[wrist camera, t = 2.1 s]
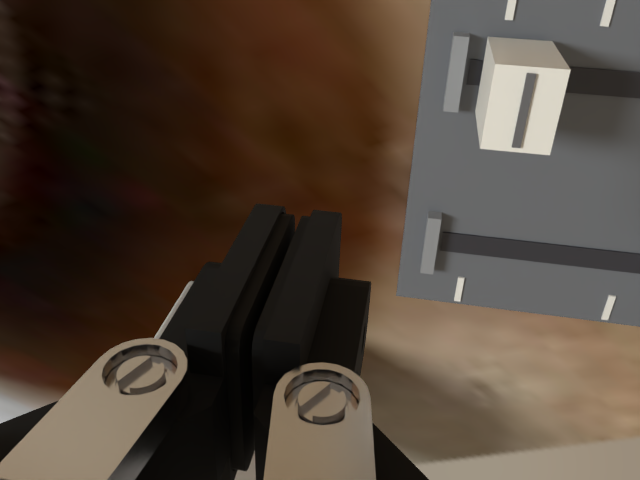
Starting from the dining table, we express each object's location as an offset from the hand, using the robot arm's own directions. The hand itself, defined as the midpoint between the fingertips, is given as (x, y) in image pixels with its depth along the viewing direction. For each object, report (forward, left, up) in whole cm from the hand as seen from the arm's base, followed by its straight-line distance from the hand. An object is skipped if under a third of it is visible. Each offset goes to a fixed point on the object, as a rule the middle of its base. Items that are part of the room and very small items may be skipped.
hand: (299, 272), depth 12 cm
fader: (0, +6, -15) cm, 16 cm away
